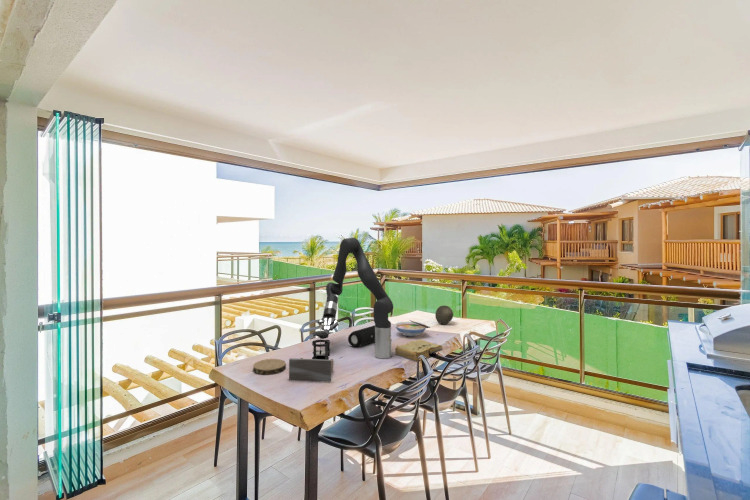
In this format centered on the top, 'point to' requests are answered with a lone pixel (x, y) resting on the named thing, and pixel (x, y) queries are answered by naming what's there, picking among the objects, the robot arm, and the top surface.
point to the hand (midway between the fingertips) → (325, 336)
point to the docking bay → (310, 369)
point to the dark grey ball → (444, 314)
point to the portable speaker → (362, 336)
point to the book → (417, 350)
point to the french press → (322, 335)
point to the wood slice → (269, 366)
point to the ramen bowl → (411, 328)
